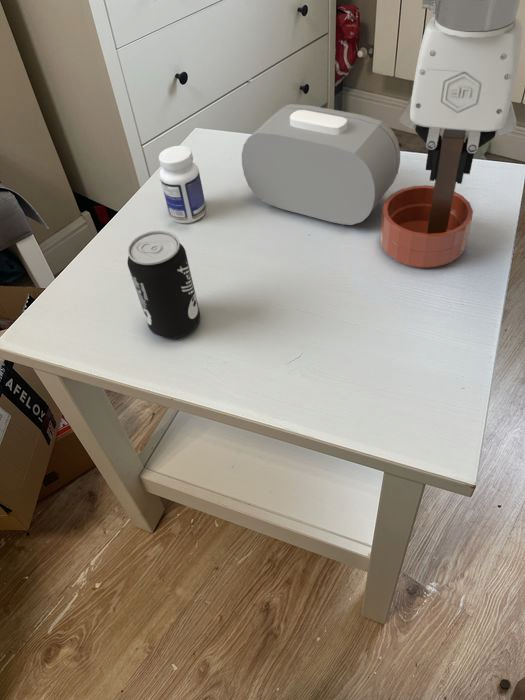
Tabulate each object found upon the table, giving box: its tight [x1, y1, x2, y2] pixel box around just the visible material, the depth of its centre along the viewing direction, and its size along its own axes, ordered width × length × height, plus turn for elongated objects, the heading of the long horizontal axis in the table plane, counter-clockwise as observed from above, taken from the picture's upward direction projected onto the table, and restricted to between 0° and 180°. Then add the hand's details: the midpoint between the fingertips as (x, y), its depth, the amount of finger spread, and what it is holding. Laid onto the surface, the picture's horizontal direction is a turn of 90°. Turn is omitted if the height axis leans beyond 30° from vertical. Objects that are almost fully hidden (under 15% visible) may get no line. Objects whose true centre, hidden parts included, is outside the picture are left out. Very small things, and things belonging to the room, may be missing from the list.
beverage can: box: [127, 230, 201, 339], centre depth 66 cm, size 7×7×12 cm
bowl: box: [379, 184, 474, 269], centre depth 75 cm, size 11×11×6 cm
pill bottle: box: [158, 145, 207, 224], centre depth 83 cm, size 6×6×10 cm
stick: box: [427, 129, 467, 234], centre depth 70 cm, size 2×2×14 cm
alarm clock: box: [241, 103, 401, 226], centre depth 80 cm, size 21×10×13 cm, turn 60°
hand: (446, 175), depth 68 cm, fingers closed on stick, 2 cm apart
